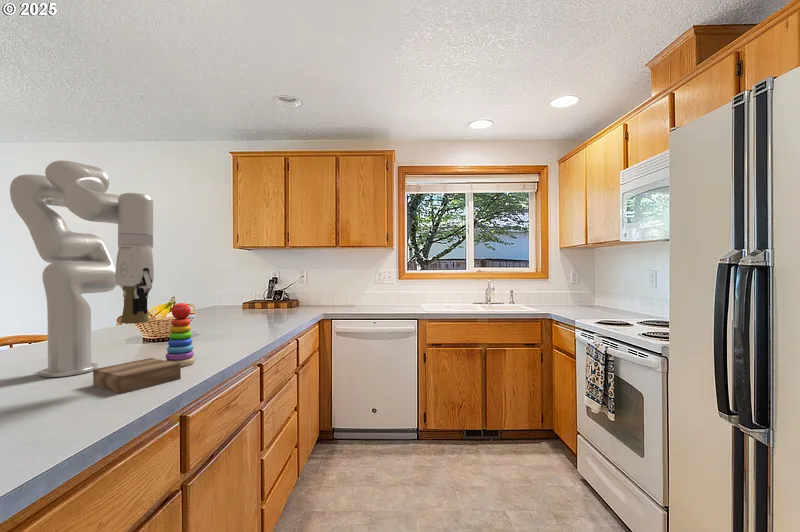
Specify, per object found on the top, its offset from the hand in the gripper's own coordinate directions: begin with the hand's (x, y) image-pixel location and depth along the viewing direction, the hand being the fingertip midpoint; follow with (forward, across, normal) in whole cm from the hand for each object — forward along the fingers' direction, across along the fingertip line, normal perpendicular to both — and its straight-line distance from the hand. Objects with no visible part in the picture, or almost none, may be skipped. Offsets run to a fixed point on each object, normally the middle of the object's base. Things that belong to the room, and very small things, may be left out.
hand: (135, 312), depth 101 cm
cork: (+2, 0, 0) cm, 2 cm away
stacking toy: (+18, -9, +16) cm, 26 cm away
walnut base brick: (+18, 0, +1) cm, 18 cm away
